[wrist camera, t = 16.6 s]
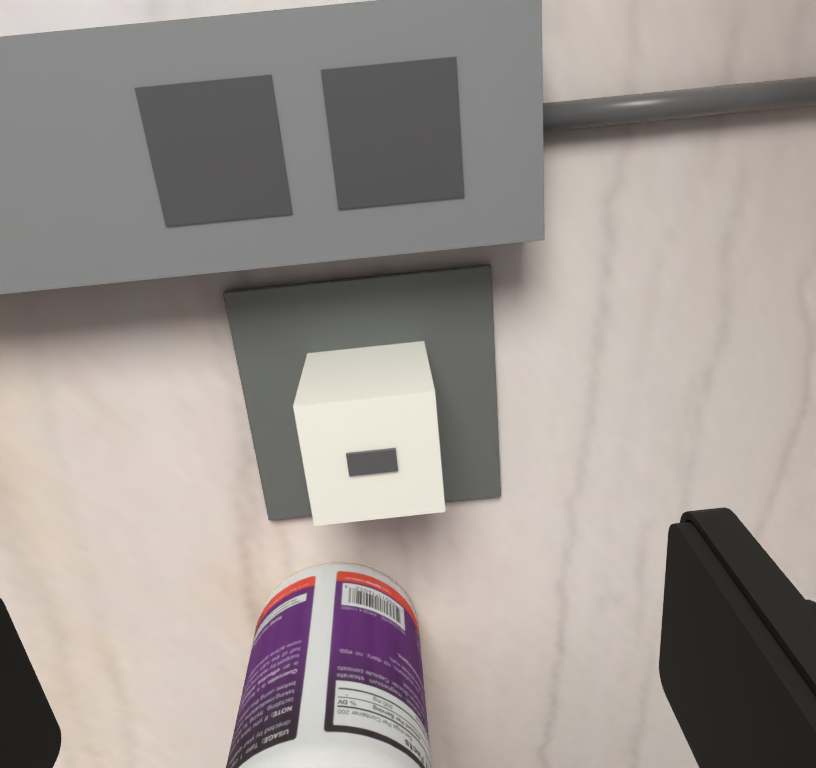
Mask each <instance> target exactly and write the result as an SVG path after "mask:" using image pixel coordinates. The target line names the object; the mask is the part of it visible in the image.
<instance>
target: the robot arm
mask: <svg viewBox="0 0 816 768" xmlns="http://www.w3.org/2000/svg"><path fill="white" fill-rule="evenodd" d="M659 672H660V678H661V683H662V686H663V690H664V692H665V695H666V697H667V699H668V701H669V703H670V705H671V708H672V710H673V712H674V714H675V716H676V718H677V720H678V723H679V725H680V727H681V729H682V731H683V733H684V735H685V738H686V740H687V742H688V744H689V746H690V748H691V750H692V753H693V755H694V757H695V759H696V761H697V763H698V765H699V768H816V603H815V602H813V601H811V600H805V599H804V597H803V596H802V595H801V594H800V593H799V591H798V590H797V589H796V588H795V587H794V585H793V584H792V583H791V582H790V580H789V579H788V578H787V577H786V576H785V574H784V573H783V572H782V571H781V570H780V568H779V567H778V566H777V565H776V563H775V562H774V561H773V560H772V559H771V557H770V556H769V555H768V554H767V553H766V551H765V550H764V549H763V548H762V547H761V545H760V544H759V543H758V542H757V540H756V539H755V538H754V537H753V536H752V534H751V533H750V532H749V531H748V530H747V528H746V527H745V526H744V525H743V523H742V522H741V521H740V520H739V519H738V517H737V516H736V515H735V514H734V513H733V512H732V511H731V510H730V509H728V508H716V509H706V510H697V511H687V512H685V513H683V515H682V516H681V520H680V523H676V524H672V525H670V527H669V532H668V545H667V559H666V573H665V587H664V602H663V616H662V630H661V644H660V659H659ZM60 746H61V731H60V728H59V725H58V723H57V721H56V718H55V716H54V714H53V712H52V709H51V707H50V705H49V703H48V700H47V698H46V696H45V694H44V691H43V689H42V687H41V685H40V683H39V680H38V678H37V676H36V674H35V671H34V669H33V667H32V665H31V662H30V660H29V658H28V656H27V653H26V651H25V649H24V647H23V644H22V642H21V640H20V638H19V635H18V633H17V631H16V629H15V627H14V624H13V622H12V620H11V618H10V615H9V613H8V611H7V609H6V606H5V604H4V602H3V601H2V599H1V598H0V768H53V766H54V764H55V762H56V759H57V757H58V754H59V751H60Z"/></svg>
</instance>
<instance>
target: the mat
mask: <svg viewBox="0 0 816 768" xmlns="http://www.w3.org/2000/svg"><path fill="white" fill-rule="evenodd" d="M223 294H224V299H225V304H226V309H227V314H228V319H229V324H230V329H231V334H232V339H233V344H234V349H235V354H236V359H237V364H238V369H239V374H240V379H241V384H242V389H243V394H244V399H245V404H246V409H247V414H248V419H249V424H250V429H251V434H252V439H253V444H254V449H255V454H256V459H257V464H258V469H259V474H260V479H261V484H262V489H263V494H264V499H265V504H266V509H267V514H268V519H269V520H276V519H286V518H296V517H305V516H312V511H311V505H310V500H309V494H308V488H307V483H306V477H305V471H304V466H303V460H302V454H301V449H300V443H299V437H298V431H297V426H296V420H295V414H294V409H293V405H294V401H295V397H296V393H297V390H298V386H299V382H300V379H301V375H302V371H303V367H304V364H305V360H306V356H307V353H315V352H324V351H334V350H343V349H353V348H362V347H372V346H381V345H391V344H400V343H410V342H419V341H424V343H425V347H426V352H427V356H428V361H429V366H430V370H431V375H432V379H433V384H434V389H435V396H436V408H437V420H438V431H439V443H440V454H441V466H442V477H443V489H444V501H445V502H450V501H460V500H469V499H479V498H489V497H498V496H501V487H500V464H499V441H498V418H497V395H496V372H495V349H494V326H493V303H492V280H491V266H490V265H479V266H469V267H459V268H449V269H439V270H429V271H419V272H409V273H399V274H389V275H379V276H369V277H359V278H349V279H339V280H329V281H319V282H309V283H299V284H290V285H280V286H270V287H260V288H250V289H240V290H230V291H225V292H224V293H223Z"/></svg>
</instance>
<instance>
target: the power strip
mask: <svg viewBox="0 0 816 768" xmlns="http://www.w3.org/2000/svg"><path fill="white" fill-rule="evenodd" d="M811 105H816V77H807V78H797V79H787V80H777V81H766V82H756V83H746V84H736V85H726V86H715V87H705V88H695V89H685V90H675V91H664V92H654V93H644V94H634V95H624V96H613V97H603V98H593V99H583V100H573V101H563V102H552V103H543V81H542V1H541V0H376V1H366V2H356V3H345V4H335V5H325V6H314V7H304V8H293V9H283V10H273V11H262V12H252V13H242V14H231V15H221V16H210V17H200V18H190V19H179V20H169V21H159V22H148V23H138V24H127V25H117V26H107V27H96V28H86V29H76V30H65V31H55V32H45V33H34V34H24V35H13V36H3V37H0V294H9V293H19V292H29V291H39V290H49V289H59V288H69V287H79V286H89V285H99V284H109V283H119V282H129V281H139V280H149V279H159V278H169V277H179V276H189V275H199V274H209V273H219V272H229V271H239V270H249V269H259V268H269V267H279V266H289V265H299V264H309V263H319V262H329V261H339V260H349V259H359V258H369V257H379V256H389V255H399V254H409V253H419V252H429V251H439V250H449V249H459V248H469V247H479V246H489V245H499V244H509V243H519V242H529V241H539V240H545V239H544V160H543V132H547V131H557V130H567V129H577V128H587V127H597V126H607V125H618V124H628V123H638V122H648V121H658V120H668V119H679V118H689V117H699V116H709V115H719V114H729V113H739V112H750V111H760V110H770V109H780V108H790V107H800V106H811Z"/></svg>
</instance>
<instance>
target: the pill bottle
mask: <svg viewBox="0 0 816 768" xmlns="http://www.w3.org/2000/svg"><path fill="white" fill-rule="evenodd" d="M226 768H432V766H431V755H430V746H429V735H428V725H427V713H426V704H425V692H424V682H423V671H422V660H421V650H420V638H419V629H418V622H417V617H416V614H415V611H414V609H413V606H412V604H411V602H410V600H409V598H408V597H407V595H406V594H405V592H404V591H403V590H402V589H401V588H400V587H399V586H398V585H397V584H396V583H395V582H394V581H393V580H391V579H390V578H389V577H387V576H385V575H384V574H382V573H380V572H378V571H376V570H374V569H372V568H369V567H366V566H362V565H357V564H350V563H328V564H322V565H317V566H313V567H310V568H307V569H304V570H302V571H300V572H297V573H295V574H294V575H292V576H290V577H289V578H287V579H286V580H284V581H283V582H282V583H281V584H280V585H278V586H277V587H276V588H275V589H274V591H273V592H272V593H271V594H270V595H269V597H268V598H267V600H266V602H265V603H264V605H263V607H262V609H261V612H260V615H259V618H258V622H257V626H256V630H255V635H254V640H253V645H252V650H251V655H250V659H249V664H248V668H247V673H246V678H245V683H244V687H243V692H242V697H241V701H240V706H239V711H238V715H237V720H236V725H235V729H234V734H233V739H232V743H231V748H230V752H229V757H228V761H227V766H226Z"/></svg>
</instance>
